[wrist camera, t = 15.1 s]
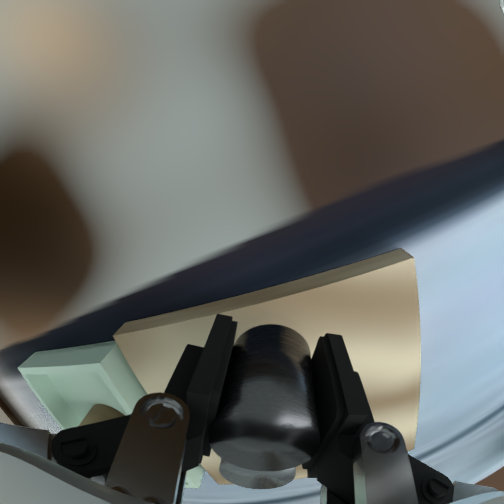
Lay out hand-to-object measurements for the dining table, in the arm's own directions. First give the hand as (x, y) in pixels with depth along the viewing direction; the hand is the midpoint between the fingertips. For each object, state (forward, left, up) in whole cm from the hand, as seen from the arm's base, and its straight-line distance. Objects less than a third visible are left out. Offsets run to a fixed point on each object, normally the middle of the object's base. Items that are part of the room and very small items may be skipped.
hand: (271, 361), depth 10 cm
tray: (-6, +14, -4) cm, 16 cm away
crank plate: (-6, +1, -4) cm, 8 cm away
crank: (-4, +2, -2) cm, 5 cm away
